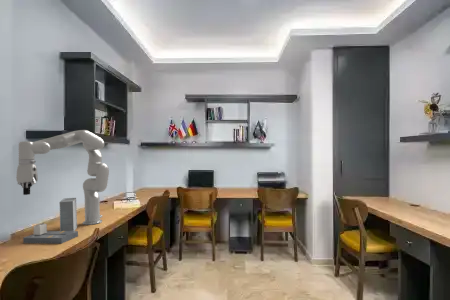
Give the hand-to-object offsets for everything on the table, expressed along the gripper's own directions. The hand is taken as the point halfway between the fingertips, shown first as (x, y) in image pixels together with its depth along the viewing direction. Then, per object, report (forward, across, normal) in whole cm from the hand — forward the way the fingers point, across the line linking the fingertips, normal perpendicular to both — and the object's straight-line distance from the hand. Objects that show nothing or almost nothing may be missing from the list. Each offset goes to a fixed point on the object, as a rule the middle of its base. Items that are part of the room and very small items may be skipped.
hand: (26, 194), depth 165 cm
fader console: (+26, -15, 0) cm, 30 cm away
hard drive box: (+26, -12, -19) cm, 35 cm away
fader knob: (+23, -8, 0) cm, 24 cm away
